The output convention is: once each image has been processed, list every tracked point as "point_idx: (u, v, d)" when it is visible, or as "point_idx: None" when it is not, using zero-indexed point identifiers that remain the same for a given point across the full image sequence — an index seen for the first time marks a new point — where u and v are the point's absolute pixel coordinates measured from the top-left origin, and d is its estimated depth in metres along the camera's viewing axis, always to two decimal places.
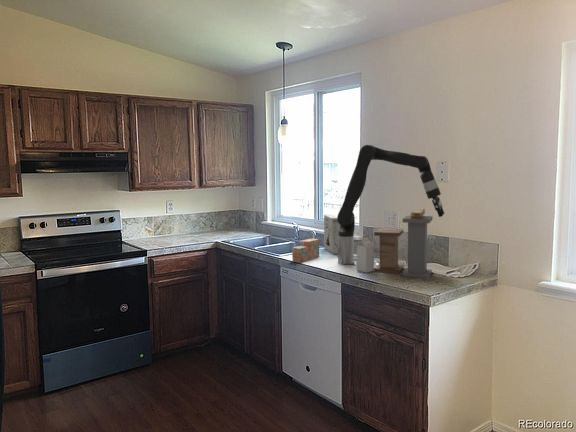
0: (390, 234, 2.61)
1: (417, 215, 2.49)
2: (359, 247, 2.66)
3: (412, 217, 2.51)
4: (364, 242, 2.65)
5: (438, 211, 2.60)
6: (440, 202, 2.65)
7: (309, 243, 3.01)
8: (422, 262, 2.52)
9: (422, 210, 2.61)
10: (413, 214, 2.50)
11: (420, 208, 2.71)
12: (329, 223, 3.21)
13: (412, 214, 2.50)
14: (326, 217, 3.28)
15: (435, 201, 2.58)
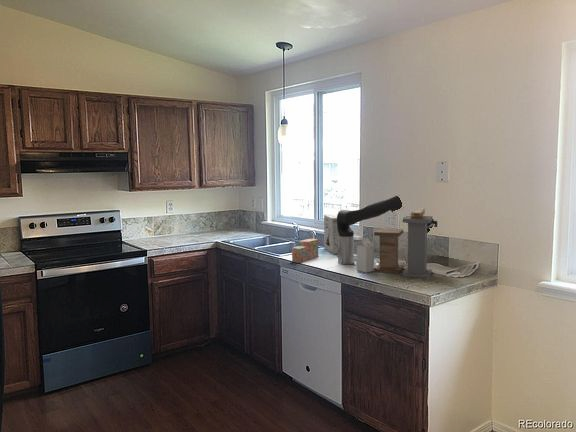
0: (390, 234, 2.61)
1: (417, 215, 2.49)
2: (359, 247, 2.66)
3: (412, 217, 2.51)
4: (364, 242, 2.65)
5: None
6: None
7: (309, 243, 3.01)
8: (422, 262, 2.52)
9: (422, 210, 2.61)
10: (413, 214, 2.50)
11: (420, 208, 2.71)
12: (329, 223, 3.21)
13: (412, 214, 2.50)
14: (326, 217, 3.28)
15: None
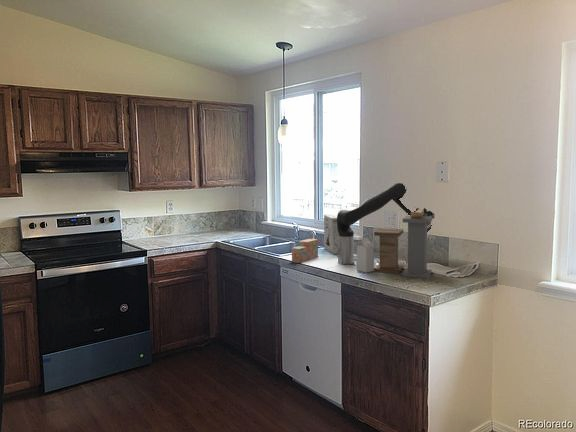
0: (390, 234, 2.61)
1: (417, 215, 2.49)
2: (359, 247, 2.66)
3: (412, 217, 2.51)
4: (364, 242, 2.65)
5: None
6: None
7: (308, 243, 3.00)
8: (422, 262, 2.52)
9: (422, 210, 2.61)
10: (413, 214, 2.50)
11: (420, 208, 2.71)
12: (329, 223, 3.21)
13: (412, 214, 2.50)
14: (326, 217, 3.28)
15: (433, 216, 2.70)
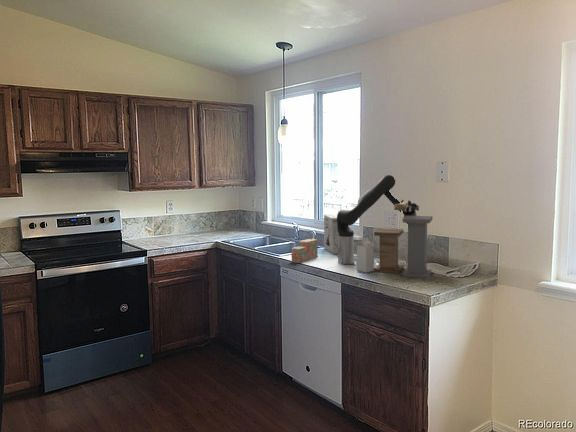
0: (390, 234, 2.61)
1: (400, 207, 2.58)
2: (359, 247, 2.66)
3: (396, 208, 2.59)
4: (364, 242, 2.65)
5: None
6: None
7: (308, 243, 3.00)
8: (422, 262, 2.52)
9: (406, 202, 2.69)
10: (396, 206, 2.59)
11: None
12: (329, 223, 3.21)
13: (396, 206, 2.59)
14: (326, 217, 3.28)
15: (418, 208, 2.79)
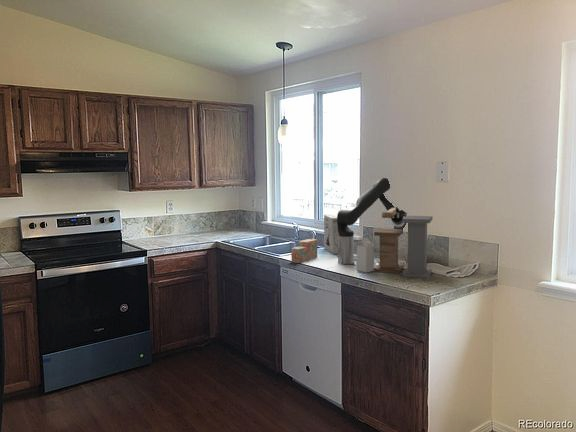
0: (390, 234, 2.61)
1: (388, 214, 2.62)
2: (359, 247, 2.66)
3: (383, 216, 2.63)
4: (364, 242, 2.65)
5: None
6: None
7: (308, 243, 2.99)
8: (422, 262, 2.52)
9: (394, 209, 2.73)
10: (384, 213, 2.63)
11: None
12: (329, 223, 3.21)
13: (383, 213, 2.63)
14: (326, 217, 3.28)
15: (405, 215, 2.83)
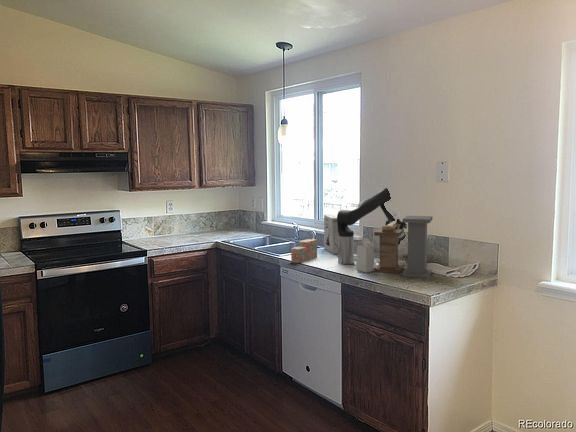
0: (390, 234, 2.61)
1: (388, 229, 2.63)
2: (359, 247, 2.66)
3: (383, 230, 2.64)
4: (364, 242, 2.65)
5: (399, 221, 2.81)
6: None
7: (308, 244, 2.99)
8: (422, 262, 2.52)
9: (394, 223, 2.74)
10: (384, 228, 2.64)
11: (393, 221, 2.84)
12: (329, 223, 3.21)
13: (383, 228, 2.64)
14: (326, 217, 3.28)
15: (406, 226, 2.84)
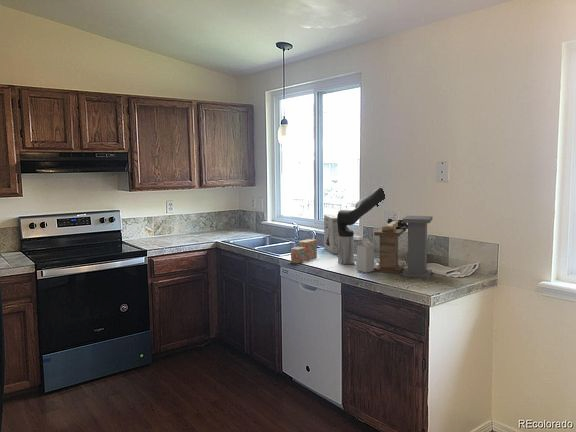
0: (390, 234, 2.61)
1: (388, 229, 2.63)
2: (359, 247, 2.66)
3: (383, 230, 2.64)
4: (364, 242, 2.65)
5: None
6: None
7: (307, 244, 2.99)
8: (422, 262, 2.52)
9: (394, 223, 2.74)
10: (384, 228, 2.64)
11: (393, 221, 2.84)
12: (329, 223, 3.21)
13: (383, 228, 2.64)
14: (326, 217, 3.28)
15: None
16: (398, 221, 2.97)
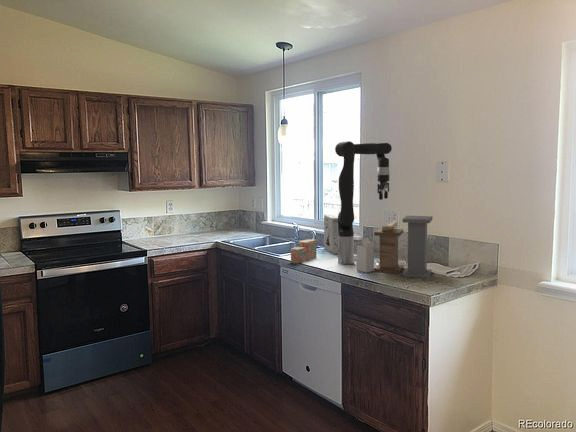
0: (390, 234, 2.61)
1: (388, 229, 2.63)
2: (359, 247, 2.66)
3: (383, 230, 2.64)
4: (364, 242, 2.65)
5: None
6: None
7: (307, 244, 2.98)
8: (422, 262, 2.52)
9: (394, 223, 2.74)
10: (384, 228, 2.64)
11: (393, 221, 2.84)
12: (329, 223, 3.21)
13: (383, 228, 2.64)
14: (326, 217, 3.28)
15: None
16: (385, 186, 2.99)
